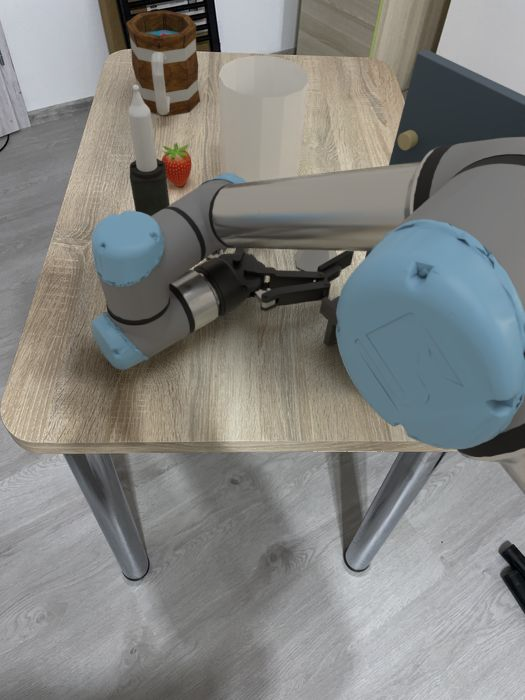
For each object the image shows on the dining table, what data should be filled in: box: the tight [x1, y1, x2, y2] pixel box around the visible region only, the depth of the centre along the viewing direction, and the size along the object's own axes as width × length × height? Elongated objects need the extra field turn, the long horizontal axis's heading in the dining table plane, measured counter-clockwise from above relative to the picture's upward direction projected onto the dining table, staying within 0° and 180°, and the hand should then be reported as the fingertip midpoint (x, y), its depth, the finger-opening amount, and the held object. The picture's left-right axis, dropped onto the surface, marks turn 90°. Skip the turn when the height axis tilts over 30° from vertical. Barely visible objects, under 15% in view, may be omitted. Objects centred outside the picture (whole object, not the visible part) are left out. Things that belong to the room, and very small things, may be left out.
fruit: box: [161, 141, 193, 187], centre depth 94 cm, size 5×5×8 cm
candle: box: [127, 84, 171, 216], centre depth 78 cm, size 5×5×25 cm
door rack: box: [319, 49, 525, 348], centre depth 61 cm, size 14×16×36 cm
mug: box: [125, 9, 201, 117], centre depth 108 cm, size 20×14×15 cm
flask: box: [294, 250, 338, 272], centre depth 82 cm, size 7×7×10 cm
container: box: [218, 54, 310, 182], centre depth 93 cm, size 14×14×18 cm
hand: (318, 232), depth 82 cm, fingers open, 13 cm apart
